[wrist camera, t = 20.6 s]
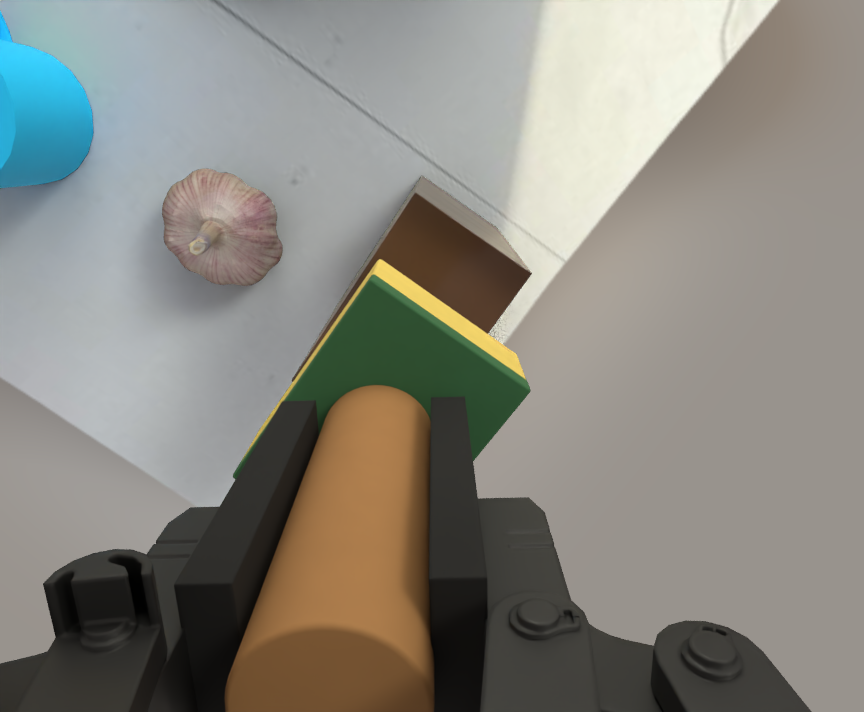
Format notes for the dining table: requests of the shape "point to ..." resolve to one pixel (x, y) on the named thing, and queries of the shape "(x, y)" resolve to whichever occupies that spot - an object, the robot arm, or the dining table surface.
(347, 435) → the sponge
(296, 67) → the dining table surface
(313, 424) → the robot arm
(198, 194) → the garlic bulb
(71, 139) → the mug
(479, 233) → the stand
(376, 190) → the dining table surface
